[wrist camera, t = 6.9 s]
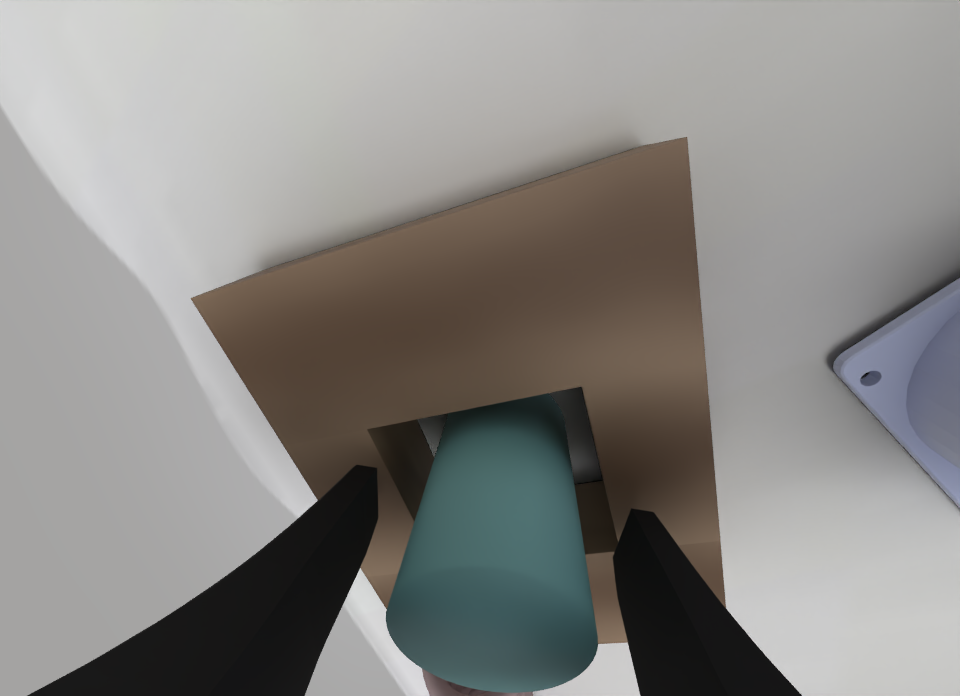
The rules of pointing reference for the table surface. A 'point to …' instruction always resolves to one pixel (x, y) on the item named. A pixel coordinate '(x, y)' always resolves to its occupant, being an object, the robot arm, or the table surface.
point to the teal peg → (498, 556)
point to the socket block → (500, 350)
